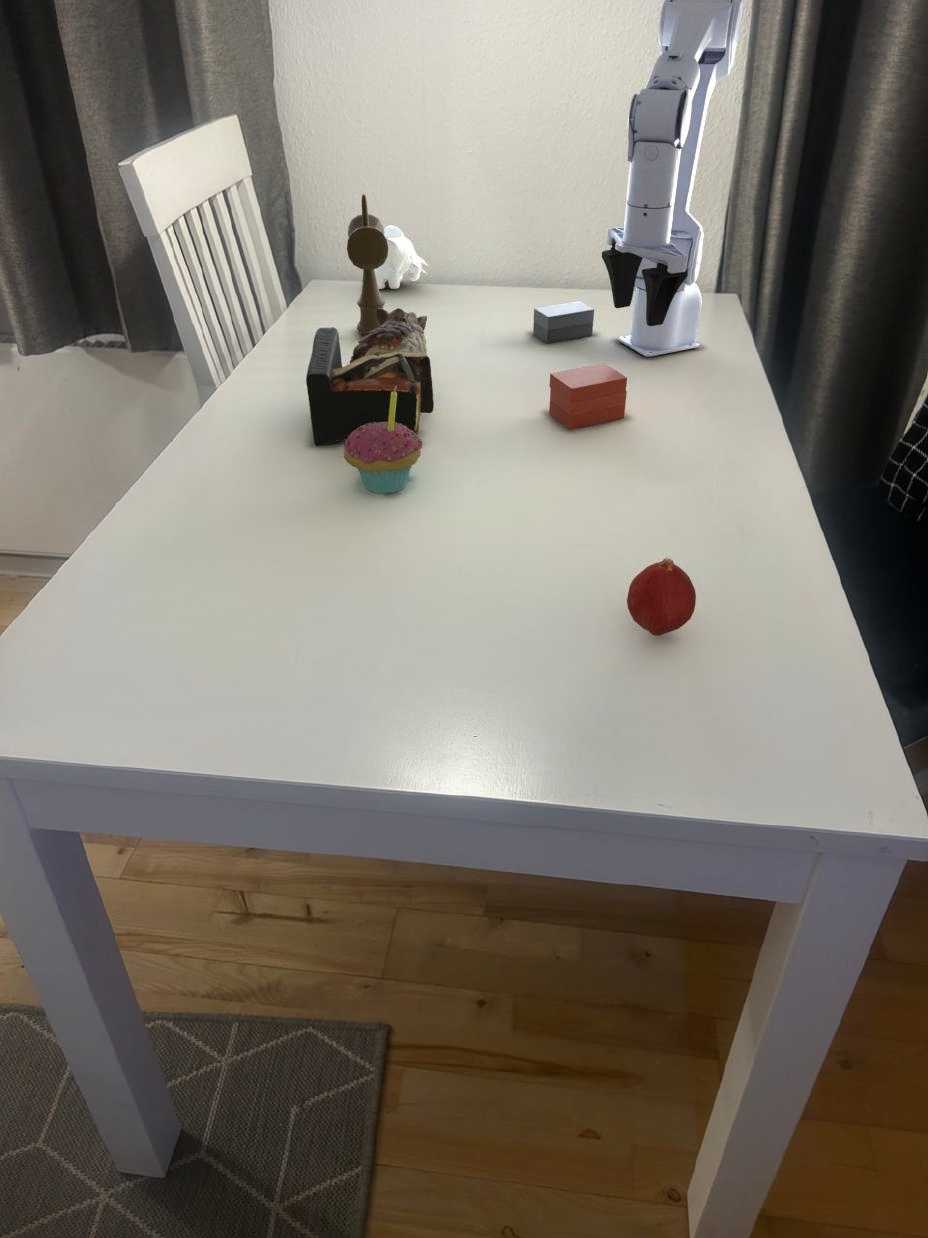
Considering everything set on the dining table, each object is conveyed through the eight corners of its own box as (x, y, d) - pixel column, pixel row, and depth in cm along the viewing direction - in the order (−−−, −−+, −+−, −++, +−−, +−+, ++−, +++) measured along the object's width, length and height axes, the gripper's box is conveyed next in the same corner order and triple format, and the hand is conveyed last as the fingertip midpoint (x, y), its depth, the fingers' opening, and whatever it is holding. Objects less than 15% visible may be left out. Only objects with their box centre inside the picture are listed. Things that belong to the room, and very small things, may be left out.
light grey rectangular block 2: (578, 313, 143) (579, 300, 142) (593, 322, 140) (594, 309, 138) (533, 321, 140) (533, 308, 139) (547, 330, 137) (548, 316, 136)
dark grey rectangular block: (577, 326, 144) (578, 313, 143) (592, 335, 141) (593, 322, 140) (532, 333, 141) (533, 321, 140) (547, 343, 138) (547, 330, 137)
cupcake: (433, 473, 105) (430, 373, 98) (405, 508, 99) (400, 404, 92) (365, 462, 107) (357, 363, 100) (334, 496, 101) (323, 393, 94)
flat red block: (603, 376, 119) (604, 362, 117) (626, 391, 115) (627, 377, 114) (549, 386, 116) (549, 373, 115) (570, 402, 112) (571, 388, 111)
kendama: (354, 343, 139) (342, 202, 126) (353, 322, 146) (342, 187, 134) (393, 342, 139) (386, 201, 127) (390, 320, 147) (383, 185, 135)
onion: (617, 615, 83) (625, 540, 78) (679, 611, 83) (691, 537, 79) (631, 655, 78) (641, 578, 74) (697, 651, 79) (711, 575, 74)
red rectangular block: (601, 402, 121) (603, 389, 120) (624, 417, 117) (625, 404, 116) (548, 413, 118) (549, 400, 117) (570, 429, 114) (570, 416, 113)
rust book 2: (603, 389, 120) (604, 376, 119) (625, 404, 116) (627, 391, 115) (549, 400, 117) (550, 386, 116) (571, 416, 113) (571, 402, 112)
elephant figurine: (426, 293, 158) (425, 239, 152) (357, 292, 158) (353, 238, 153) (431, 276, 165) (429, 224, 160) (365, 275, 166) (362, 224, 161)
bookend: (302, 379, 105) (318, 288, 123) (316, 459, 112) (329, 362, 130) (430, 372, 105) (427, 282, 123) (436, 453, 112) (432, 357, 130)
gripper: (590, 194, 114) (582, 303, 122) (656, 220, 104) (643, 337, 112) (637, 188, 117) (627, 295, 125) (707, 213, 106) (691, 329, 114)
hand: (638, 315), depth 118 cm, fingers open, 7 cm apart
